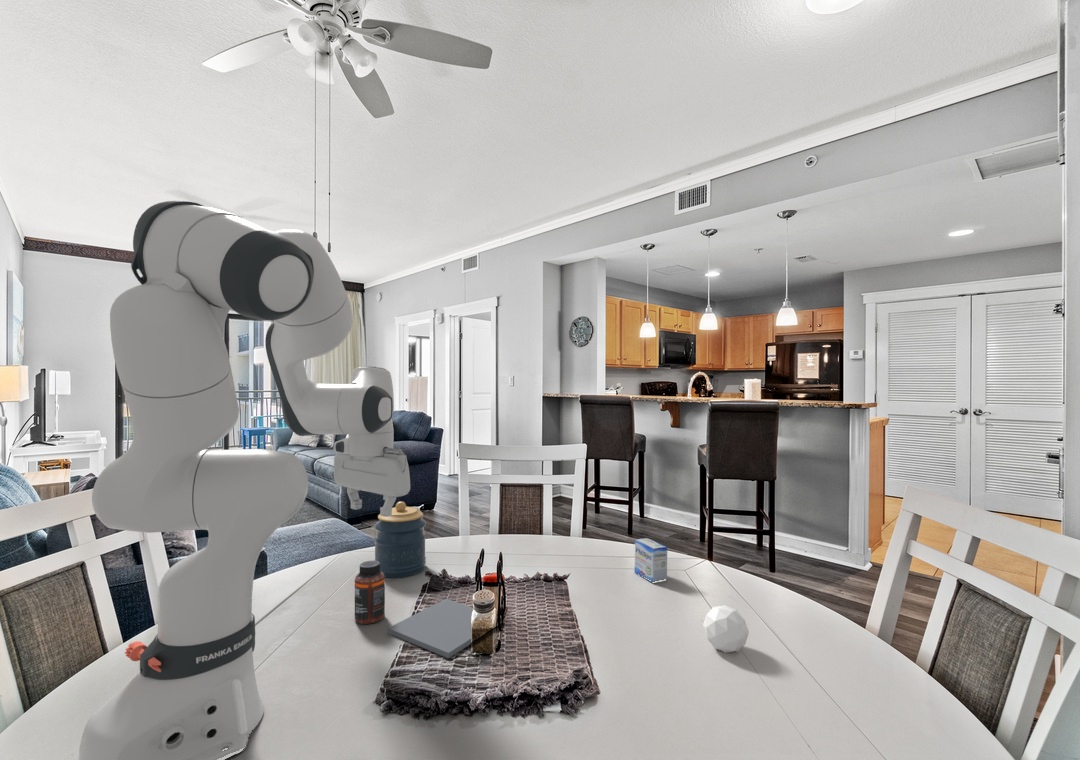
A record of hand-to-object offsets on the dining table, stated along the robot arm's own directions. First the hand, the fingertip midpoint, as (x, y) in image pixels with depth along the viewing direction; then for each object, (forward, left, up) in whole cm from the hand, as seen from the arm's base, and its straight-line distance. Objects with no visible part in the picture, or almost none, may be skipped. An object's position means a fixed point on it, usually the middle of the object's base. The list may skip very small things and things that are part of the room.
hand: (370, 512), depth 104 cm
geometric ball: (+29, -64, -22) cm, 74 cm away
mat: (+6, -16, -22) cm, 28 cm away
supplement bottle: (0, 0, -22) cm, 22 cm away
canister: (+22, +16, -22) cm, 35 cm away
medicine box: (+54, -40, -22) cm, 71 cm away
